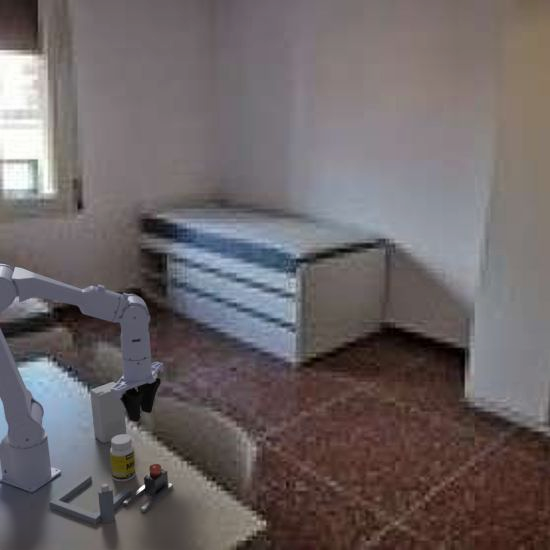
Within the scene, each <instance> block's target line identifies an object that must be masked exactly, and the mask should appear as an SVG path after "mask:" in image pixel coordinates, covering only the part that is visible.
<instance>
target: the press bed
mask: <svg viewBox="0 0 550 550" xmlns="http://www.w3.org/2000/svg"><path fill="white" fill-rule="evenodd" d="M92 481H93V480H92V475H89V474H85V475H84V476H83V477H82V478H80V479H78V480H77V481H76V482H74V483H73V484H72V485H71V486H69V487H67V488H66V489H64V490H63V491H62V492H61V493H59V494H58V495H56V496H55V497H54V498H52V499H51V500H50V501H48V503H49V508H50V509H53V510H55V511H59V512H61V513H63V514H66V515H67V514H68V515H69V516H72V517H75V518H77V519H79V520H82V521H85V522H88V523H91V524H94V525H97V524H98V523H100V522H103V523H106V524H110V523H111V522H112V521H113V520H115V518H116V513H115V509H117V508H118V507H120V505H122V504H123V502H124V501H125V500H126V499H128V498H129V497H130V496H131V495H132V494H133V490H132V489H131V488H129V487H126V488H124V489H123V490H122V491H121V492H119V493H118V494H117V495H116V496H115V497H114V490H113V489H112V488H110V485H109V484H108V483H103V484H101V485H100V490H99V491H98V492H97V494H98V503H99V509H98V511H96V512H92V511H90V510H87V509H84V508H81V507H78V506H76V505H73V504H70V503H67V502H66V501H67V500H69V499H70V498H71V497H73V496H75V494H77V493H78V492H80V491H81V490H82V489H83V488H85V487H86V486H88V485H89V484H90V483H92Z"/></svg>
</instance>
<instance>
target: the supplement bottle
mask: <svg viewBox="0 0 550 550" xmlns="http://www.w3.org/2000/svg"><path fill="white" fill-rule="evenodd" d="M110 443H111V444H110V445H111V447H110V450H109V455H110V466H111V478H112V479H113V481H116V482H120V483H121V482H128V481H130V480H132V479H134V477H136V459H135V448H134V445H133V444H132V443H133V441H132V437H131V435H129V434H127V433H126V434H120V435H116V436H114V437H113V438H112V439H111V440H110Z"/></svg>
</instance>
